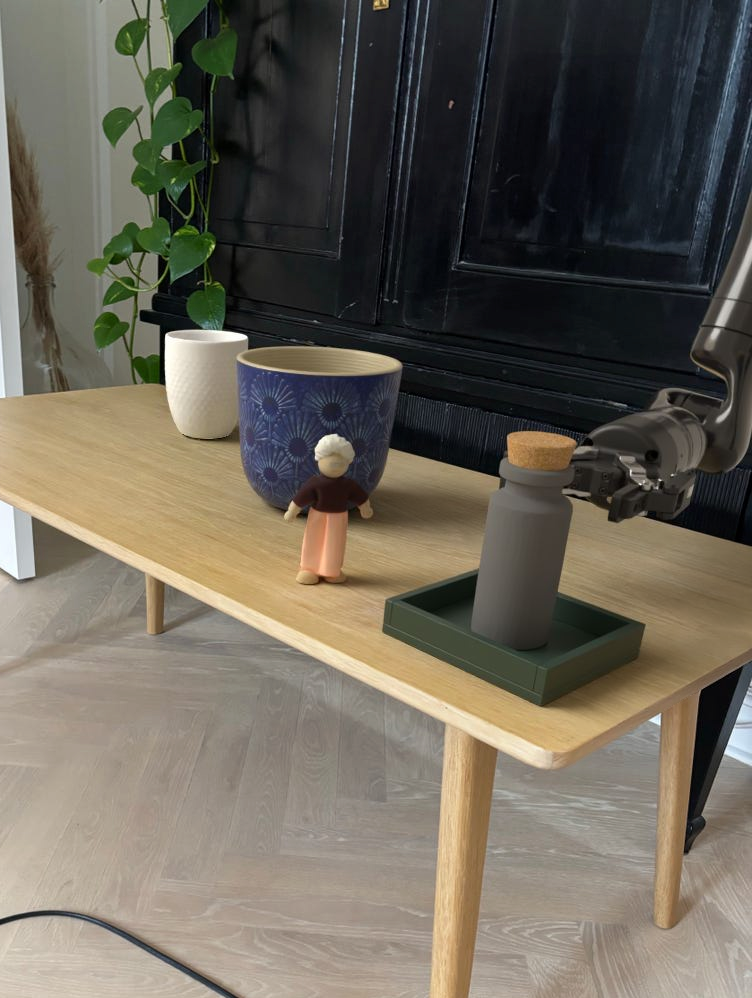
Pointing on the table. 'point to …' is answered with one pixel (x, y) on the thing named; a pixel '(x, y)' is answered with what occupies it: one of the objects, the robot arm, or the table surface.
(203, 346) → the mug
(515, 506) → the bottle
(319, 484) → the grandmother figurine
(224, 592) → the table surface
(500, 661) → the tray
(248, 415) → the planter
